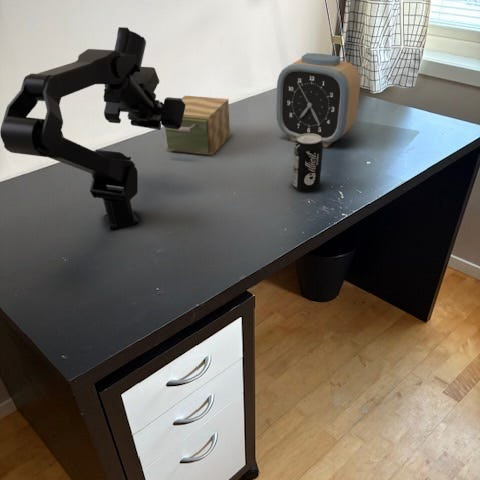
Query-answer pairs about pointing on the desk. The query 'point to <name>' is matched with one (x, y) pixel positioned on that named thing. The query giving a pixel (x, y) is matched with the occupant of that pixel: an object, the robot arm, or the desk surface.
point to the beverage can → (307, 162)
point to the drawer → (189, 136)
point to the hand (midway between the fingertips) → (159, 127)
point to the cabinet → (209, 118)
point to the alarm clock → (318, 97)
